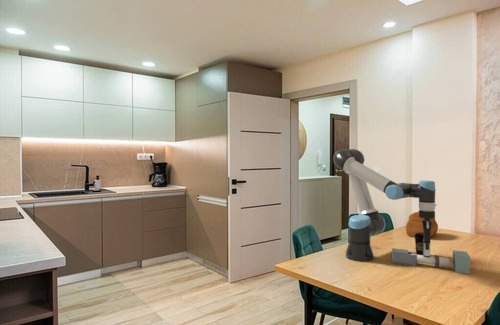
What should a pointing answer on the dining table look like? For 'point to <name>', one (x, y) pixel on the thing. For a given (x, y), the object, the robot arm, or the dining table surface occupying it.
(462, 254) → the socket
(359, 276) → the dining table surface
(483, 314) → the dining table surface
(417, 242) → the coffee cup
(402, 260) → the sleeve
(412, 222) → the bread
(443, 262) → the tube
